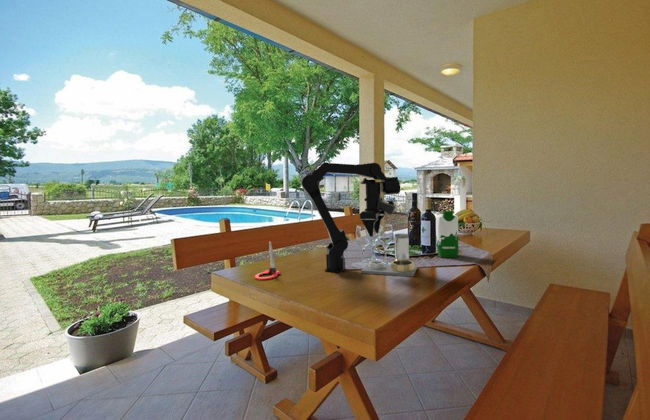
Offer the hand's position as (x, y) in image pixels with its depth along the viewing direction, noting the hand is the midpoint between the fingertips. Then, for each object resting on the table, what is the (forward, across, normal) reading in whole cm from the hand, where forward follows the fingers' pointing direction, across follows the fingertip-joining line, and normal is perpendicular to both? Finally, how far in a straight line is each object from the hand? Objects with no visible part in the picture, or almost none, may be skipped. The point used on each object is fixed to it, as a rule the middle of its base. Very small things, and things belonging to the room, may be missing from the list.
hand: (374, 234), depth 129 cm
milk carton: (+13, +26, -26) cm, 39 cm away
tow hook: (+13, -23, +36) cm, 45 cm away
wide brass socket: (+13, -4, -12) cm, 18 cm away
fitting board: (+13, -4, -6) cm, 15 cm away
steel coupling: (+12, -4, -11) cm, 17 cm away
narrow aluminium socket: (+13, -4, -2) cm, 14 cm away
